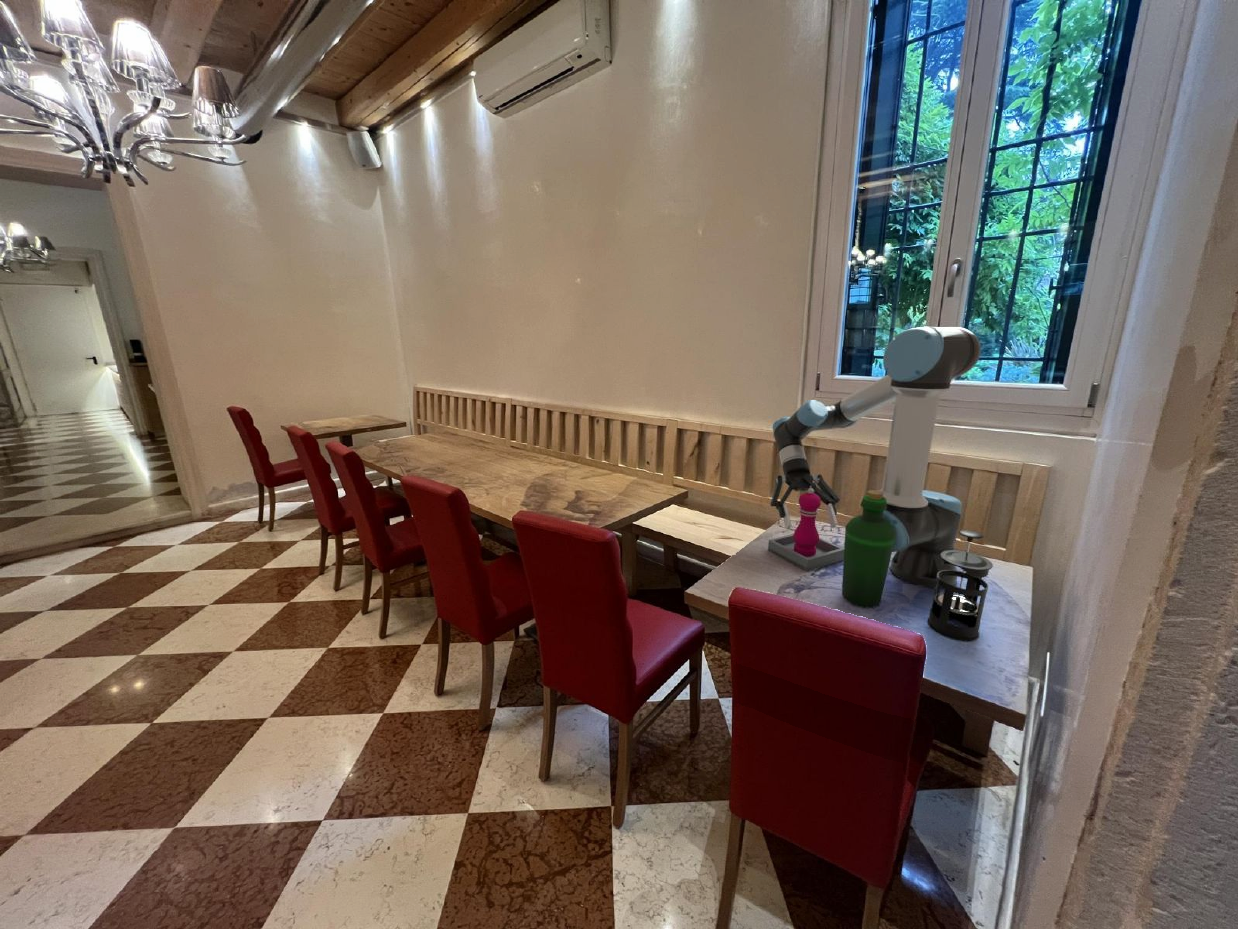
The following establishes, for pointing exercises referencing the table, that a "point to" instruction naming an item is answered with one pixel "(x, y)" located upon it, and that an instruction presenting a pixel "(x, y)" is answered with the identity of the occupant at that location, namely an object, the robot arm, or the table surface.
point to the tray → (824, 556)
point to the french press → (958, 605)
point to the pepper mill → (807, 524)
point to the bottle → (867, 552)
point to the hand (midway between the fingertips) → (811, 526)
